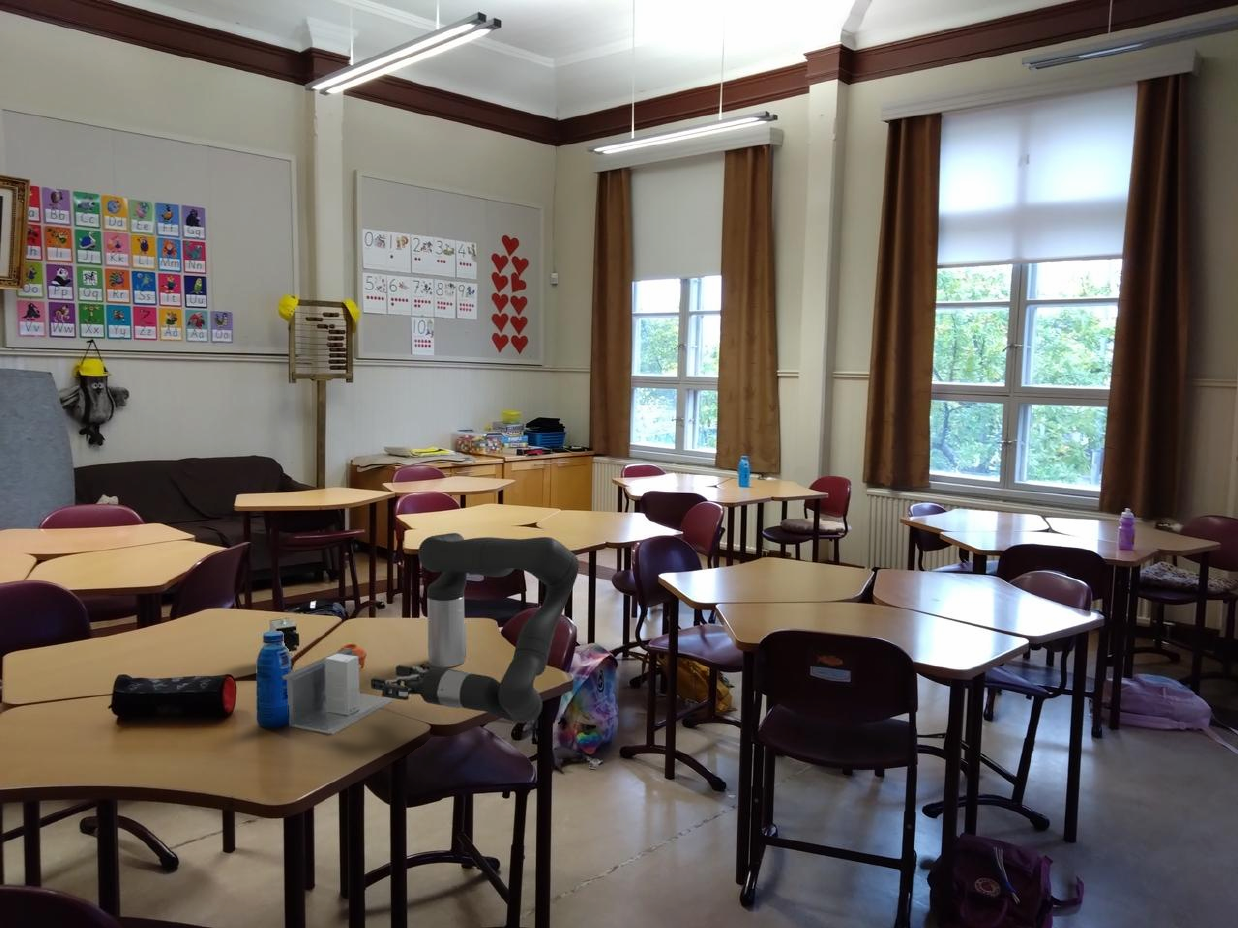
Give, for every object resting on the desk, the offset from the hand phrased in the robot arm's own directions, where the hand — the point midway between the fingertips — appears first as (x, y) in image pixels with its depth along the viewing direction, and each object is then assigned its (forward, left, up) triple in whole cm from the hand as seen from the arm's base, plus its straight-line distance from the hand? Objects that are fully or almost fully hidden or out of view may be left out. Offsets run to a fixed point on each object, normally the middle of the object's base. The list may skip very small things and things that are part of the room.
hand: (384, 676), depth 188 cm
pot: (-24, -28, -10) cm, 38 cm away
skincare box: (0, -11, -9) cm, 14 cm away
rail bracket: (0, -12, -10) cm, 15 cm away
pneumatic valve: (-20, -45, -10) cm, 50 cm away
